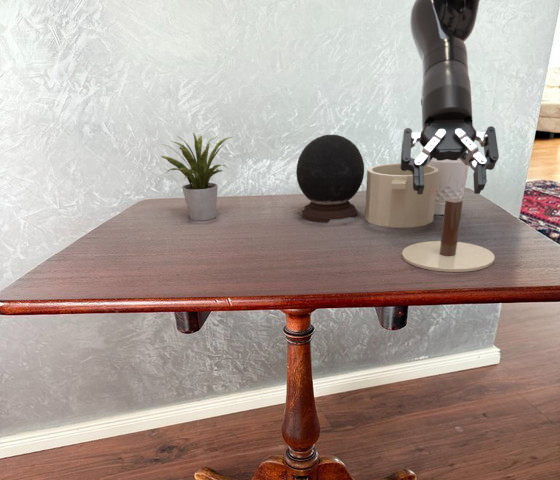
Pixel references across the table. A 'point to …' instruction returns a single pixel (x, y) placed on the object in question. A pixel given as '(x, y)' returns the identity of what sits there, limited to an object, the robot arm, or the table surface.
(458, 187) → the white cup
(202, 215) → the house plant
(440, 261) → the lid
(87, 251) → the table surface
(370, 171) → the pot
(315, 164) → the black ball on stand
